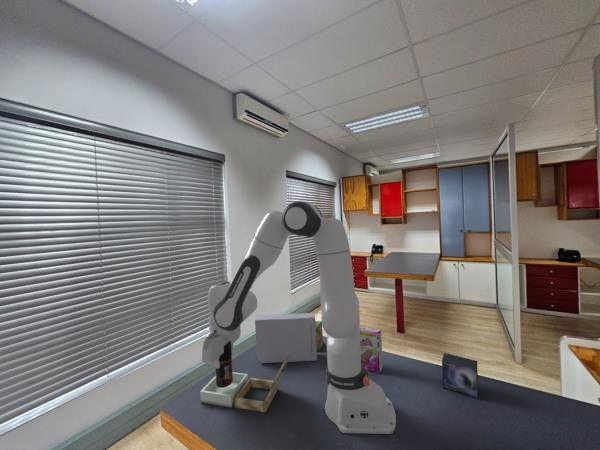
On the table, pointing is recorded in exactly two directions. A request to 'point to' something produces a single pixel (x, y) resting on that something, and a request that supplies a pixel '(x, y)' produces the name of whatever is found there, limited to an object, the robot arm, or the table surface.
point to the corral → (254, 404)
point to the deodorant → (225, 368)
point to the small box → (460, 375)
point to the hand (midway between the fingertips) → (223, 361)
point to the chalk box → (319, 335)
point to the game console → (286, 337)
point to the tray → (223, 391)
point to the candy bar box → (371, 349)
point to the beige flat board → (277, 378)
